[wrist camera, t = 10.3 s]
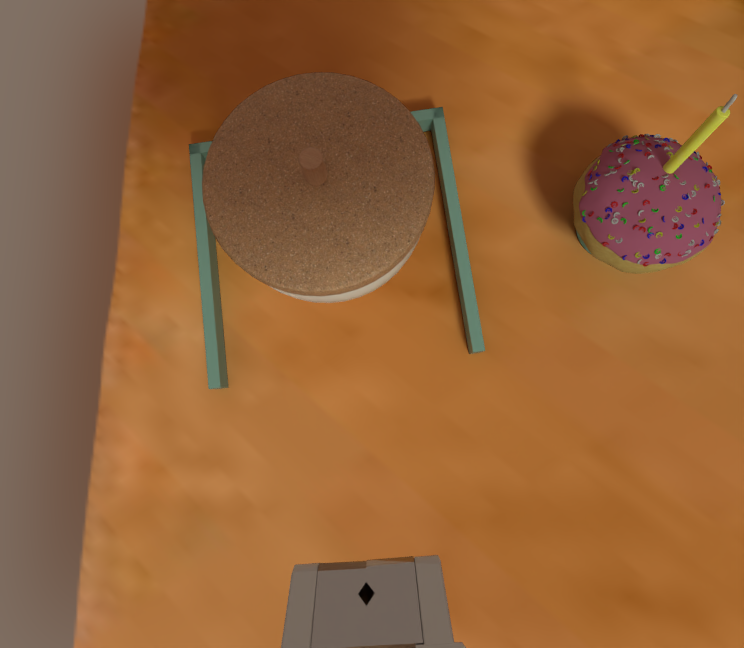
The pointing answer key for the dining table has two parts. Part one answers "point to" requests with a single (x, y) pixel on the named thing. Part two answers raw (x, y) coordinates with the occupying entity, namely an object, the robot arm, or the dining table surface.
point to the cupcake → (649, 201)
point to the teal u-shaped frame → (209, 265)
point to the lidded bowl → (319, 186)
